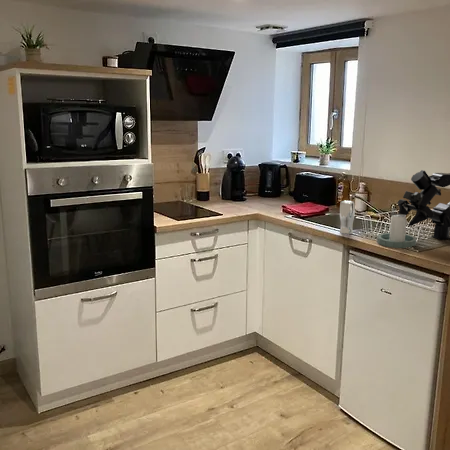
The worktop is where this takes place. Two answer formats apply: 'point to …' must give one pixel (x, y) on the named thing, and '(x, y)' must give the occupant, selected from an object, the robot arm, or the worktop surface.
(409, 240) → the dish
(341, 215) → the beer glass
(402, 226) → the can
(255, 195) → the worktop surface
